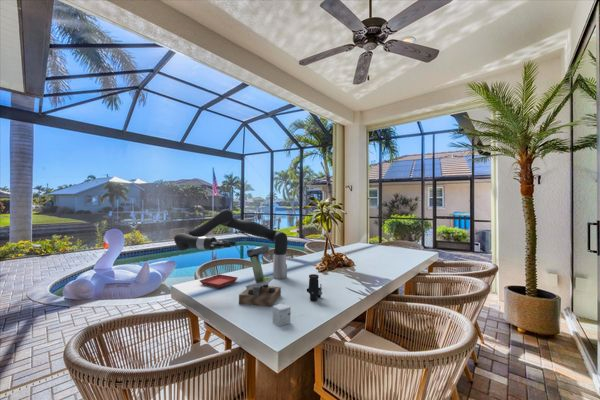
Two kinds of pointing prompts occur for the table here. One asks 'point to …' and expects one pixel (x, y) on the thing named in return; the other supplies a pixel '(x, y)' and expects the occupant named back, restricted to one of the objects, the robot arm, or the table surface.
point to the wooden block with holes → (260, 296)
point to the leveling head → (258, 267)
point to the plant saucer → (218, 280)
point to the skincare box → (281, 314)
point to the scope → (314, 288)
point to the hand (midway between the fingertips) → (232, 244)
